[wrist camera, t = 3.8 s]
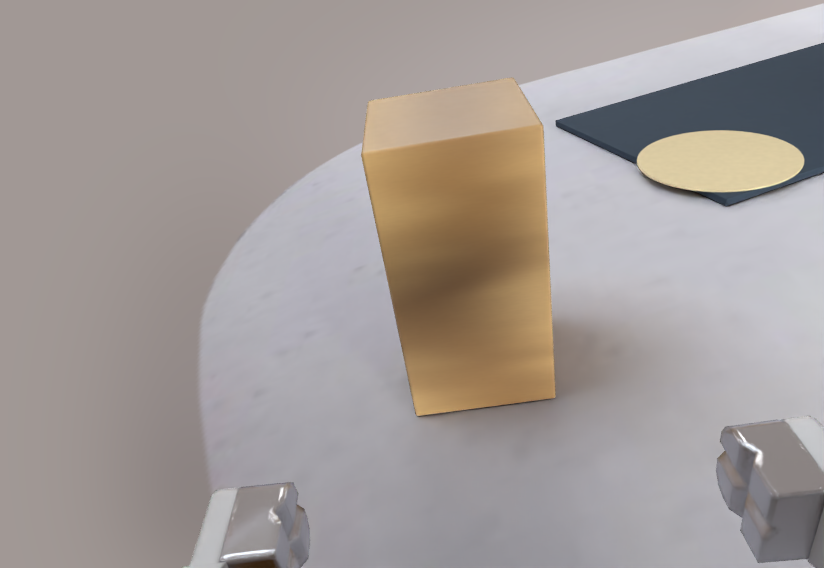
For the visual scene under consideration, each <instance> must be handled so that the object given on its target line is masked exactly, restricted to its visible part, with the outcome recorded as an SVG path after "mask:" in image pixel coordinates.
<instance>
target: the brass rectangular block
mask: <svg viewBox="0 0 824 568" xmlns="http://www.w3.org/2000/svg"><path fill="white" fill-rule="evenodd" d="M361 157H362V161H363V166H364V171H365V176H366V180H367V185H368V190H369V195H370V199H371V204H372V209H373V214H374V218H375V223H376V228H377V233H378V237H379V242H380V247H381V252H382V257H383V261H384V266H385V271H386V276H387V280H388V285H389V290H390V295H391V299H392V304H393V309H394V314H395V318H396V323H397V328H398V333H399V337H400V342H401V347H402V352H403V356H404V361H405V366H406V371H407V376H408V380H409V385H410V390H411V395H412V399H413V404H414V409H415V414H416V415H417V416H421V415H429V414H437V413H444V412H452V411H460V410H467V409H475V408H483V407H490V406H498V405H506V404H513V403H521V402H529V401H536V400H544V399H551V398H555V396H556V393H555V371H554V349H553V327H552V305H551V284H550V262H549V240H548V218H547V196H546V174H545V153H544V131H543V125H542V123H541V121H540V120H539V118H538V116H537V115H536V113H535V112H534V110H533V108H532V107H531V105H530V103H529V102H528V100H527V99H526V97H525V95H524V94H523V92H522V90H521V89H520V87H519V86H518V84H517V82H516V81H515V79H514V78H506V79H500V80H494V81H487V82H482V83H475V84H469V85H463V86H458V87H451V88H445V89H439V90H433V91H426V92H420V93H414V94H408V95H403V96H396V97H390V98H384V99H378V100H372V101H369V102H368V106H367V113H366V122H365V129H364V138H363V145H362V153H361Z"/></svg>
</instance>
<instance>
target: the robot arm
mask: <svg viewBox="0 0 824 568" xmlns="http://www.w3.org/2000/svg"><path fill="white" fill-rule="evenodd" d="M720 442H721V444H722V446H723V448H724V449H725V451H724V452H723V453H722V454H721V455H720V456H719V457H718V458H717V468H716V473H717V479H718V485H719V488H720V491H721V494H722V496H723V499H724V500H725V502H726V504H727V506H728V508H729V509H730V510H731V511H733V512H734V513H736V514H737V515H739V516H740V517H742V523H741V529H740V531H741V533H742V534H743V536H744V538H745V540H746V542H747V544H748V545H749V547H750V549H751V551H752V553H753V555H754V556H755V558H756V560H757V562H758V563H764V562H775V561H787V560H799V559H808V562H809V563H811V564H812V565H813V566H814V567H816V568H824V428H823V427H822V426H821V425H820V423H819V422H818V421H817V420H816V419H815V418H813V417H811V416H804V417H796V418H789V419H781V420H771V421H764V422H756V423H749V424H742V425H735V426H727V427H725V428H724V429H723V430H722V432H721V438H720ZM297 500H298V492H297V489H296V487H295V485H294V483H293V482H287V483H276V484H266V485H256V486H246V487H239V488H229V489H220V490H216V491H215V492H214V493H213V495H212V496H211V498H210V501H209V504H208V507H207V511H206V514H205V517H204V520H203V524H202V527H201V530H200V534H199V536H198V540H197V543H196V546H195V549H194V553H193V556H192V559H191V562H190V566H186V567H182V568H301V567H302V566H303V564H304V563H305V562H306V561H307V559H308V557H309V548H310V530H309V524H308V518H307V515H306V512H305V510H304V508H302V507H300V506H299V505H297Z"/></svg>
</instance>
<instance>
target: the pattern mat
mask: <svg viewBox="0 0 824 568" xmlns="http://www.w3.org/2000/svg"><path fill="white" fill-rule="evenodd" d="M556 126H557V127H560V128H562V129H564V130H566V131H568V132H570V133H572V134H574V135H577V136H579V137H581V138H583V139H585V140H587V141H589V142H591V143H593V144H596V145H598V146H600V147H602V148H604V149H606V150H608V151H610V152H612V153H615V154H617V155H619V156H621V157H623V158H625V159H627V160H629V161H632V162H634V163H636V164H637V165H638V167H639V169H640V170H641V172H642V173H643V174H645V175H646V176H647V177H649V178H651V179H653V180H655V181H657V182H659V183H662V184H665V185H668V186H672V187H676V188H681V189H686V190H693V191H695V192H697V193H699V194H701V195H703V196H706V197H708V198H710V199H712V200H714V201H716V202H718V203H720V204H722V205H725V206H728V205H731V204H734V203H736V202H739V201H742V200H745V199H748V198H751V197H754V196H757V195H759V194H762V193H765V192H768V191H771V190H774V189H777V188H780V187H783V186H785V185H788V184H791V183H794V182H797V181H800V180H803V179H806V178H808V177H811V176H814V175H817V174H820V173H823V172H824V43H821V44H818V45H814V46H811V47H808V48H804V49H801V50H797V51H794V52H790V53H787V54H783V55H780V56H777V57H773V58H770V59H766V60H763V61H759V62H756V63H752V64H749V65H746V66H742V67H739V68H735V69H732V70H728V71H725V72H721V73H718V74H715V75H711V76H708V77H704V78H701V79H697V80H694V81H690V82H687V83H684V84H680V85H677V86H673V87H670V88H666V89H663V90H659V91H656V92H653V93H649V94H646V95H642V96H639V97H635V98H632V99H628V100H625V101H622V102H618V103H615V104H611V105H608V106H604V107H601V108H597V109H594V110H591V111H587V112H584V113H580V114H577V115H573V116H570V117H566V118H563V119H560V120H556Z"/></svg>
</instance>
